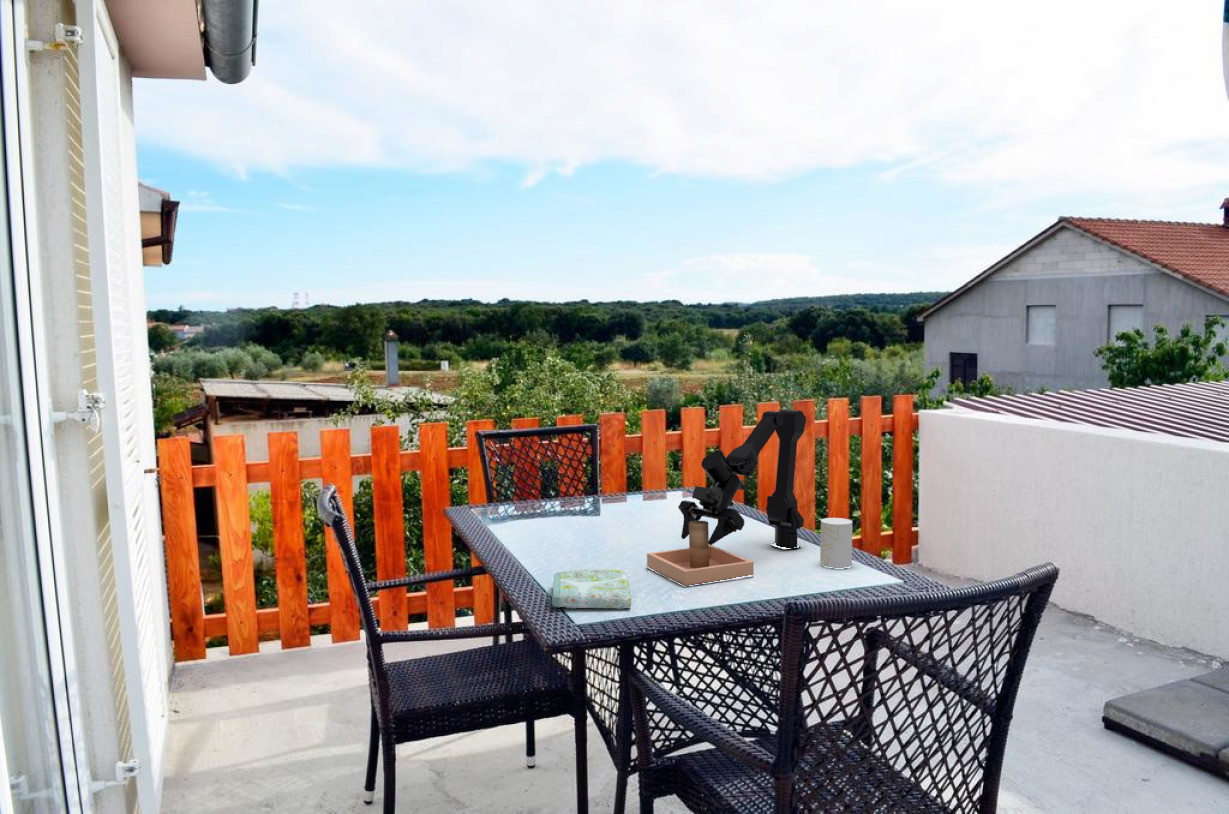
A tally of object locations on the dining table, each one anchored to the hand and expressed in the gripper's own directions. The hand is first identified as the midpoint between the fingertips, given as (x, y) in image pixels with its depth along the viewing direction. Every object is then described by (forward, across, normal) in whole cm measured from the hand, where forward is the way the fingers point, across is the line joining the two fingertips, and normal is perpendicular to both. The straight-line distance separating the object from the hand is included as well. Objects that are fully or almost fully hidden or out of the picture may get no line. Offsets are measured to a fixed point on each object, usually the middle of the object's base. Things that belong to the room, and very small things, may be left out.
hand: (695, 541), depth 241 cm
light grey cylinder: (-17, +21, +29) cm, 40 cm away
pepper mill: (+4, 0, +7) cm, 8 cm away
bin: (+5, 0, +7) cm, 9 cm away
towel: (+30, -4, -17) cm, 34 cm away
